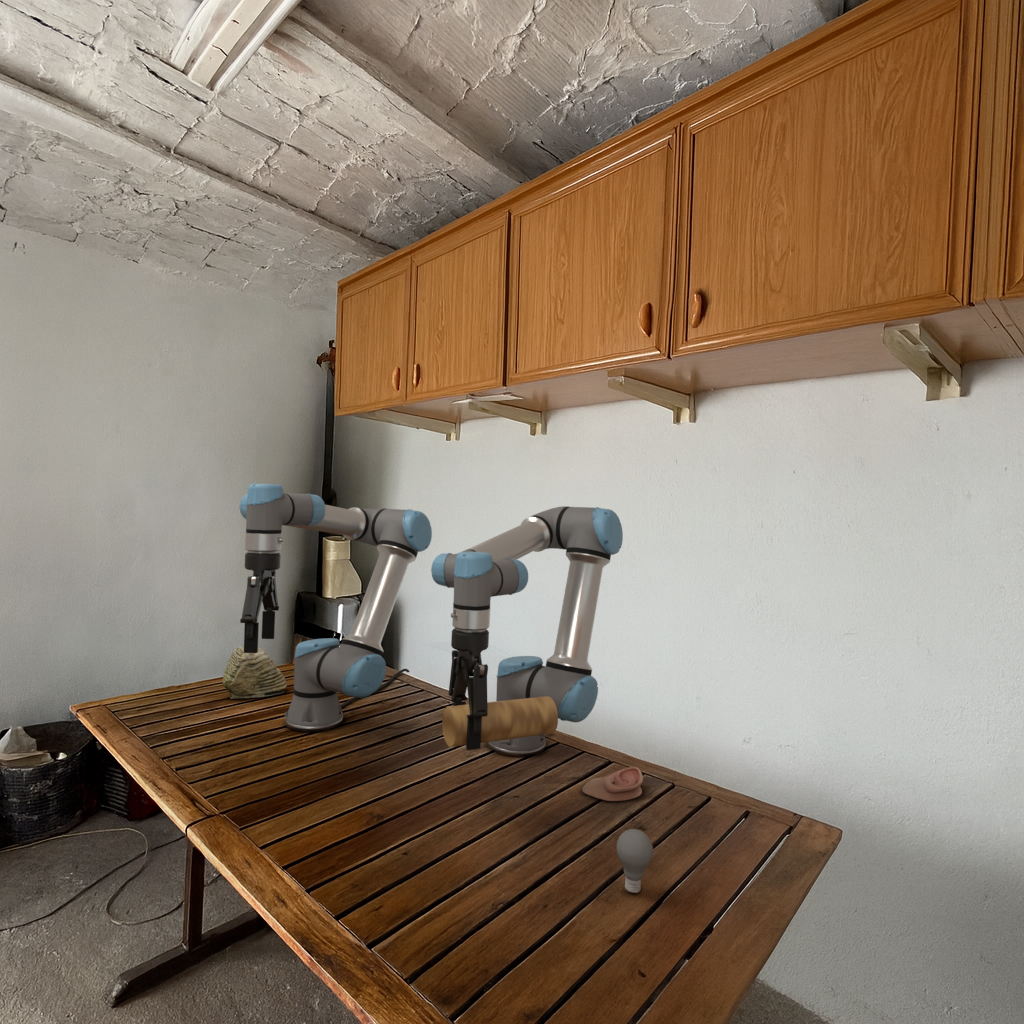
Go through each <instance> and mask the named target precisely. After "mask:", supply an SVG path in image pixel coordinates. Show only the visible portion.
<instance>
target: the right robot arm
mask: <svg viewBox="0 0 1024 1024" xmlns="http://www.w3.org/2000/svg"><path fill="white" fill-rule="evenodd" d="M623 540H624V539H623V526H622V523H621V519H620V517H619V516H618V514H617V513H616V512H615V511H614V510H613V509H609V508H604V507H603V508H602V507H598V506H597V507H587V506H585V507H584V506H567V505H566V506H565V505H564V506H557V507H552V508H548V509H546V510H543V511H541V512H537V513H535V514H533V515H531V516H527V517H525V518H524V519H523V520H522V521H521V522H520V524H519V525H517V526H515V527H513V528H511V529H509V530H507V531H504V532H502V533H500V534H498V535H495V536H493V537H491V538H489V539H487V540H484V541H482V542H480V543H478V544H475V545H473V546H471V547H469V548H467V549H465V550H462V551H460V552H458V553H451V552H447V553H440V554H438V555H436V557H435V558H434V559H433V561H432V564H431V568H430V572H431V577H432V580H433V582H434V583H435V584H437V585H439V586H441V587H447V588H448V589H450V588H452V589H453V601H452V602H453V603H452V612H451V613H450V617H451V618H452V621H451V623H452V624H451V625H452V627H453V629H452V630H451V641H450V646H451V648H452V649H453V650H452V651H451V666H450V667H451V668H450V677H449V684H448V685H449V686H448V696H449V697H451V702H452V706H457V705H467V702H466V701H468V704H469V710H470V715H466V716H467V718H468V721H467V743H466V745H465V750H467V751H473V750H480V749H481V744H482V743H481V725H482V717H484V716H487V715H488V707H487V702H488V673H489V672H488V671H489V666H488V664H487V663H486V664H485V663H484V664H483V660H482V652H483V651H486V650H487V649H489V642H490V631H489V630H488V629H489V628H490V625H491V623H490V622H491V598H493V597H501V596H512V595H514V594H518V593H521V592H522V591H523V590H525V588H526V587H527V585H528V582H529V571H528V568H527V566H526V565H525V563H523V562H522V561H521V560H519V559H521V558H523V557H525V556H527V555H529V554H531V553H532V552H534V553H536V552H537V553H539V552H543V551H545V550H548V549H549V550H550V549H557V550H565V556H566V558H567V559H568V561H569V566H568V571H567V572H568V573H567V578H566V583H565V588H564V594H563V600H562V606H561V611H560V618H559V622H558V627H557V634H556V640H555V644H554V651H553V653H552V655H551V656H550V657H548V658H547V659H546V662H545V665H544V662H543V659H542V658H541V657H540V656H535V655H518V656H511V657H507V658H503V659H502V660H501V661H500V662H499V663H498V665H497V674H496V697H495V699H496V700H495V702H496V701H506V700H515V699H525V698H534V697H544V696H549V697H551V698H552V699H553V701H554V703H555V705H556V708H557V713H558V720H560V721H562V722H566V721H567V722H570V723H580V722H582V721H584V720H585V719H587V717H588V716H589V715H590V714H591V713H592V711H593V709H594V707H595V705H596V702H597V698H598V693H599V686H598V685H599V684H598V680H597V679H596V678H595V677H594V676H593V675H592V673H593V667H592V666H591V665H590V663H589V661H588V660H589V653H590V649H591V648H590V647H591V641H592V635H593V630H594V624H595V619H596V611H597V606H598V601H599V593H600V587H601V583H602V577H603V576H602V575H603V570H604V568H605V567H606V566H607V565H608V564H610V562H611V558H612V556H614V555H616V554H618V553H619V552H620V549H622V546H623ZM466 693H467V695H466ZM546 741H547V740H546V734H545V735H537V736H530V737H522V738H515V739H507V740H500V741H492V742H487V747H488V748H489V749H490V750H491V751H492V752H495V753H496V754H499V755H503V756H509V757H521V758H522V757H531V756H536V755H538V754H541V753H542V752H544V751H545V749H546V746H547V745H546V743H547V742H546Z"/></svg>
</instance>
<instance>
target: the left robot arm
mask: <svg viewBox="0 0 1024 1024" xmlns="http://www.w3.org/2000/svg"><path fill="white" fill-rule="evenodd" d="M239 513H240V515H241V516H242V518H244V519H245V522H246V523H245V539H244V540H245V543H244V550H245V551H247V552H245V553H244V569H245V570H248V571H252V572H253V573H252V575H251V576H250V575H249V576H247V581H246V582H247V583H246V591H245V597H244V601H243V608H242V613H241V618H240V619H239V622H240V624H244V628H243V629H244V631H243V632H244V633H243V647H244V653H257V652H258V648H259V629H260V628H259V625H260V623H259V622H258V621H259V620H258V619H259V615H260V611H261V607H262V606H263V610H262V615H261V616H262V617H261V640H274V639H275V627H276V624H275V623H276V611H280V605H279V601H278V590H277V581H276V574H277V570H279V569H280V568H281V557H282V556H281V555H282V554H281V553H280V552H279V551H280V550H281V549H282V543H283V542H284V541H285V539H284V537H282V533H283V530H282V529H283V526H285V527H291V528H298V529H302V530H310V531H316V532H322V533H328V534H334V535H340V536H343V537H344V538H345V539H347V540H349V541H354V542H355V541H356V542H358V543H363V544H366V545H369V546H370V545H371V546H374V547H376V549H377V551H378V553H379V555H378V556H379V557H378V559H377V561H376V564H375V566H374V569H373V572H372V575H371V577H370V580H369V582H368V585H367V588H366V590H365V593H364V596H363V599H362V601H361V604H360V606H359V607H360V608H359V610H358V612H357V615H356V618H355V621H354V624H353V625H352V628H351V630H350V634H348V635H347V636H344V637H343V638H342V639H341V642H340V641H339V639H338V638H335V637H333V638H332V637H329V638H315V639H314V638H313V639H308V640H304V641H302V642H299V643H298V644H297V645H296V646H295V652H294V653H295V654H294V657H293V659H294V660H293V662H294V663H293V665H294V667H293V695H292V696H293V697H292V699H291V702H290V704H289V708H288V710H287V711H285V712H284V714H283V715H284V716H283V718H285V726H286V728H287V729H289V730H291V731H294V732H295V731H296V732H301V733H316V732H325V731H329V730H332V729H335V728H337V727H339V726H340V725H342V723H343V722H344V714H343V709H342V708H344V707H346V706H347V705H349V704H350V703H352V702H353V701H357V700H358V699H361V698H367V697H370V696H371V695H372V694H374V693H376V692H379V691H380V690H382V689H384V688H386V687H387V686H388V685H389V684H391V682H392V681H394V680H395V679H396V678H397V677H398V676H399V675H401V674H402V673H404V672H405V673H410V670H409V669H408V668H403V669H401V670H399V671H397V672H396V673H394V674H393V675H392V676H391V677H390V678H389V679H388V680H387V681H386V682H385V683H383V682H384V680H385V678H386V673H387V667H386V666H387V663H386V661H385V659H384V657H383V655H384V651H385V650H384V649H383V647H382V641H383V638H384V635H385V633H386V630H387V628H388V627H387V626H388V624H389V621H390V618H391V615H392V612H393V610H394V606H395V604H396V602H397V598H398V595H399V593H400V589H401V586H402V583H403V581H404V577H405V575H406V572H407V569H408V567H409V564H411V563H413V562H416V561H417V560H416V559H417V557H418V554H419V552H420V553H421V552H424V551H425V550H427V549H428V548H429V546H430V545H431V543H432V537H433V530H432V526H431V522H430V519H429V518H428V516H427V515H426V514H425V513H424V512H423V511H420V510H413V509H410V508H409V509H401V508H400V509H398V508H384V507H383V508H382V507H381V508H361V507H355V506H353V507H350V508H344V507H339V506H334V505H330V504H326V503H325V501H324V500H323V498H322V497H321V496H319V495H318V494H311V493H293V492H292V493H289V492H287V493H286V492H284V487H283V485H281V484H274V483H254V482H253V483H251V484H249V485H248V488H247V493H245V494H244V495H243V496H242V497H241V499H240V502H239ZM338 694H342V695H345V696H347V697H351V698H350V699H348V700H347V701H345V702H344V703H342V704H341V702H340V699H339V695H338Z"/></svg>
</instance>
